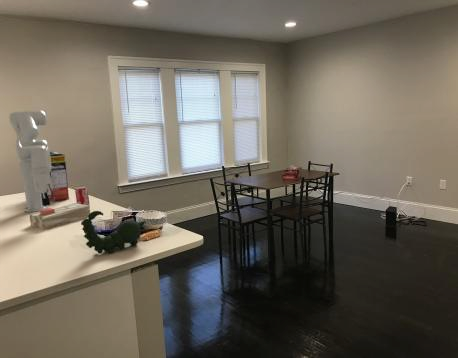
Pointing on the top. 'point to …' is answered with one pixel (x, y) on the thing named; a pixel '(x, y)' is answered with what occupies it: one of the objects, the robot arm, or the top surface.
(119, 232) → the toy figurine
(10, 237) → the top surface
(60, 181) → the cereal box
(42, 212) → the red plunger
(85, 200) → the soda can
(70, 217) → the console
